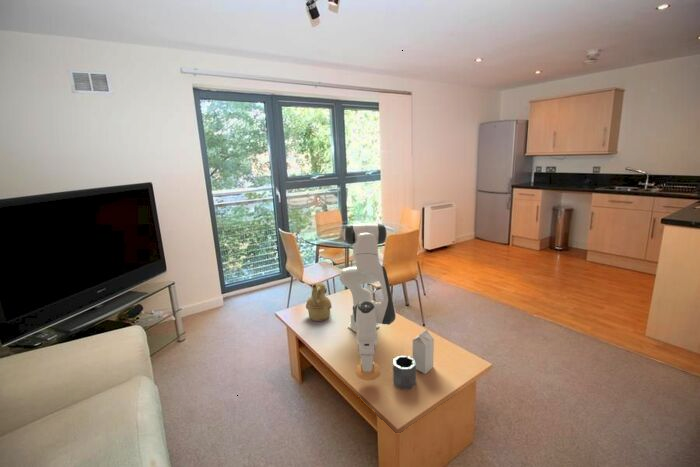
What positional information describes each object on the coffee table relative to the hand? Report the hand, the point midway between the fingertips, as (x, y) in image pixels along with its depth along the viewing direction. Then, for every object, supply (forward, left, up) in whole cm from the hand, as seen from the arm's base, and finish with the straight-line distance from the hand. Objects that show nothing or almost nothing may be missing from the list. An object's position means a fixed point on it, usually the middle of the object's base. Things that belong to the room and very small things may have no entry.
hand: (367, 366), depth 140 cm
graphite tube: (-1, +16, -9) cm, 19 cm away
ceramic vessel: (-63, -32, -9) cm, 72 cm away
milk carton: (-11, +26, -9) cm, 30 cm away
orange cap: (0, 0, -5) cm, 4 cm away
